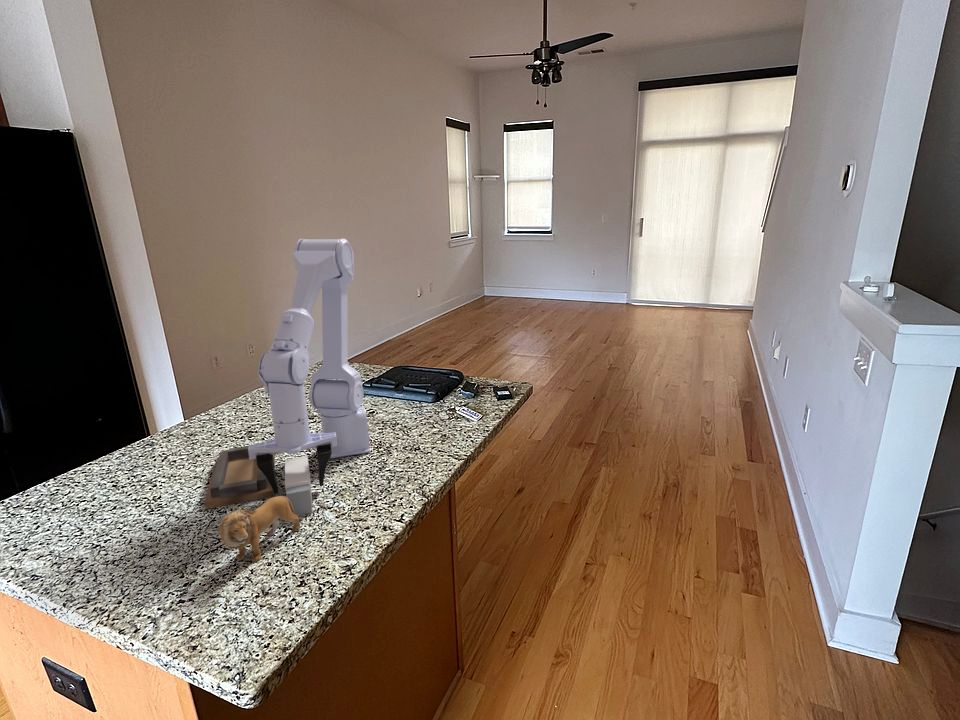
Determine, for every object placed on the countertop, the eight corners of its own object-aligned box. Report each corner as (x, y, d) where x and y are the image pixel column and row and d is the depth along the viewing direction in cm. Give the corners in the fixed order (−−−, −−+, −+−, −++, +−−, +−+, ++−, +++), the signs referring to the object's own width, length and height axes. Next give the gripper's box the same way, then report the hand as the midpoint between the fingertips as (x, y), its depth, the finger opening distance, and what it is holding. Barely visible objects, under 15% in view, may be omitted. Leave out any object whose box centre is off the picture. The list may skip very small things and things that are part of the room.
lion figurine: (247, 581, 71) (237, 524, 68) (215, 574, 72) (205, 518, 70) (309, 521, 84) (303, 472, 82) (281, 516, 86) (275, 468, 83)
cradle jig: (275, 453, 108) (273, 440, 107) (273, 496, 92) (271, 481, 91) (217, 463, 105) (215, 449, 104) (205, 508, 88) (202, 493, 87)
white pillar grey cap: (310, 479, 98) (307, 455, 96) (313, 512, 87) (310, 486, 85) (288, 483, 96) (284, 459, 95) (288, 517, 86) (285, 490, 84)
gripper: (242, 432, 82) (254, 506, 86) (335, 419, 87) (342, 490, 91) (245, 417, 89) (256, 486, 92) (332, 405, 93) (338, 472, 97)
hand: (299, 487), depth 92 cm, fingers open, 7 cm apart
